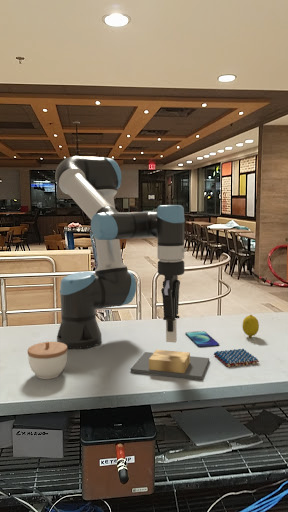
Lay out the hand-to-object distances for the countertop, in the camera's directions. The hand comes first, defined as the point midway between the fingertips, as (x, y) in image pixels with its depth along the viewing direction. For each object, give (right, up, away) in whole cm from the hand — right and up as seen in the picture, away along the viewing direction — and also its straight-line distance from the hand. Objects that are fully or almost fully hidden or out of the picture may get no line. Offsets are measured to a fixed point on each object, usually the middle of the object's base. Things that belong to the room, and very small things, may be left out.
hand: (171, 341), depth 122 cm
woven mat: (+20, -7, +5) cm, 22 cm away
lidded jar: (-34, -9, -4) cm, 36 cm away
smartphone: (+12, -5, +24) cm, 28 cm away
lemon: (+29, -4, +26) cm, 40 cm away
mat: (0, -7, 0) cm, 7 cm away
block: (+1, -5, +2) cm, 5 cm away
